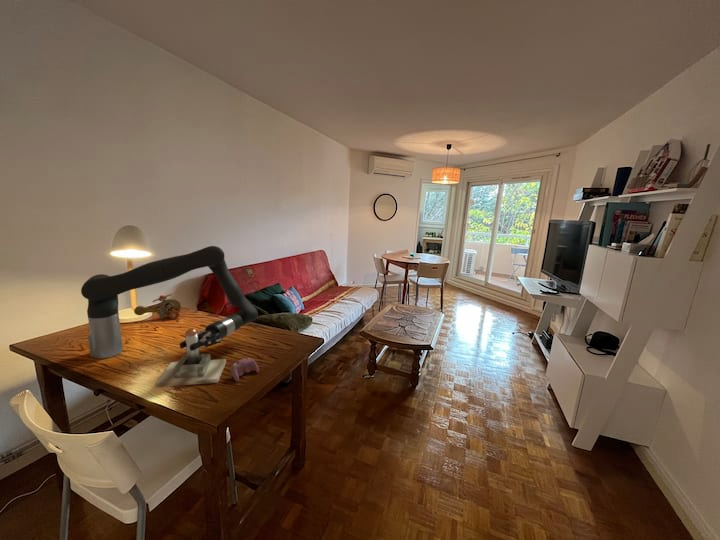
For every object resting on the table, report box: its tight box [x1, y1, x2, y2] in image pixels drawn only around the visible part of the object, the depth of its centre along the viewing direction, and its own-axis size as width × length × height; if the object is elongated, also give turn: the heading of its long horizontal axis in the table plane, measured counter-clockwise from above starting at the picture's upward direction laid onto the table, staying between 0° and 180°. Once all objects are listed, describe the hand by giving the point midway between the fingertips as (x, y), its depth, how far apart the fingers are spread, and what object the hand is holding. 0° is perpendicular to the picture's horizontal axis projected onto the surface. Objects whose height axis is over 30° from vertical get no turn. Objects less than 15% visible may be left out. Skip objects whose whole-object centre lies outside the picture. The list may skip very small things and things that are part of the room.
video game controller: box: [229, 357, 260, 383], centre depth 110 cm, size 10×5×7 cm, turn 141°
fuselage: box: [184, 327, 200, 365], centre depth 106 cm, size 4×4×14 cm
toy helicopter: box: [133, 293, 182, 320], centre depth 154 cm, size 8×21×14 cm, turn 122°
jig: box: [154, 353, 227, 388], centre depth 108 cm, size 20×14×6 cm
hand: (185, 347), depth 103 cm, fingers closed on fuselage, 4 cm apart
